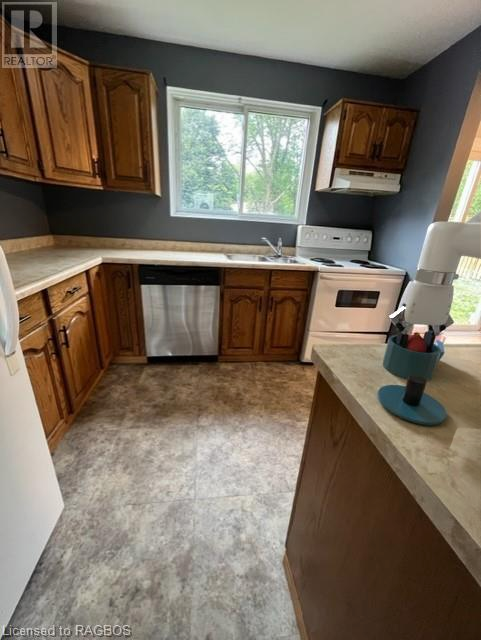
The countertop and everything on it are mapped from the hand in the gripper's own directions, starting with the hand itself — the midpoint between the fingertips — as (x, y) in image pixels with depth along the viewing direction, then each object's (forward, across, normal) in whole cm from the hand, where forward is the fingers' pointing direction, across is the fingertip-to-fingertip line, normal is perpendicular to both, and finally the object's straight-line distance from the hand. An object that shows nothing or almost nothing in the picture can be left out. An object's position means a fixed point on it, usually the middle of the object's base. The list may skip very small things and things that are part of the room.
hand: (413, 346), depth 69 cm
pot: (+7, 0, 0) cm, 7 cm away
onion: (+4, 0, 0) cm, 4 cm away
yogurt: (+7, -8, -4) cm, 11 cm away
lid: (+6, +8, +16) cm, 19 cm away
